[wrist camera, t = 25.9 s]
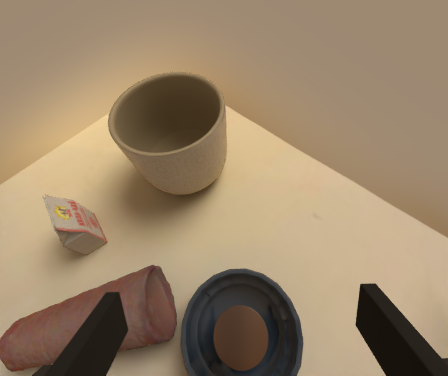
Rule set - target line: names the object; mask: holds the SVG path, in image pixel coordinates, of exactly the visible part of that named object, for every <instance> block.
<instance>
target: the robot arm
mask: <svg viewBox="0 0 448 376" xmlns="http://www.w3.org/2000/svg"><path fill="white" fill-rule="evenodd" d="M356 327H357V328H358V330H359V332H360V333H361V335H362V337H363V338H364V340H365V341H366V343H367V345H368V346H369V348H370V350H371V351H372V353H373V355H374V356H375V358H376V360H377V361H378V363H379V365H380V366H381V368H382V370H383V371H384V373H385V375H386V376H448V358H445V359H442V358H441V357H440V356H439V355H438V354H437V353H436V351H435V350H434V349H433V348H432V347H431V346H430V345H429V344H428V342H427V341H426V340H425V339H424V338H423V337H422V336H421V335H420V333H419V332H418V331H417V330H416V329H415V328H414V327H413V325H412V324H411V323H410V322H409V321H408V320H407V319H406V318H405V316H404V315H403V314H402V313H401V312H400V311H399V310H398V308H397V307H396V306H395V305H394V304H393V303H392V302H391V301H390V299H389V298H388V297H387V296H386V295H385V294H384V293H383V292H382V290H381V289H380V288H379V287H378V286H377V285H376V284H360V292H359V300H358V309H357V317H356ZM127 332H128V326H127V322H126V318H125V313H124V309H123V305H122V301H121V297H120V293H119V292H106V293H105V294H104V296H103V297H102V298H101V300H100V301H99V302H98V304H97V305H96V307H95V308H94V309H93V311H92V312H91V313H90V315H89V316H88V317H87V319H86V320H85V321H84V323H83V324H82V325H81V327H80V328H79V329H78V331H77V332H76V333H75V335H74V336H73V337H72V339H71V340H70V342H69V343H68V344H67V346H66V347H65V348H64V350H63V351H62V352H61V354H60V355H59V356H58V358H57V359H56V360H55V362H54V363H53V364H52V365H43V366H42V367H41V368H40V369H39V370H38V371H36V372H35V373H34V374H33V375H32V376H106V374H107V372H108V370H109V368H110V366H111V364H112V362H113V360H114V358H115V356H116V354H117V352H118V350H119V348H120V346H121V344H122V342H123V340H124V338H125V336H126V334H127Z"/></svg>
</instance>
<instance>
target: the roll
mask: <svg viewBox="0 0 448 376" xmlns="http://www.w3.org/2000/svg"><path fill="white" fill-rule="evenodd" d="M213 339H214V346H215V349H216V352H217V354H218V356H219V358H220V359H221V360H222V361H223V362H224V364H226V365H227V366H228V367H230V368H232V369H234V370H238V371H246V370H250V369H252V368H254V367H255V366H257V365H258V364H259V363H260V362H261V361H262V359H263V358H264V356H265V354H266V351H267V347H268V331H267V327H266V325H265V322H264V321H263V319H262V317H261V316H260V315H259V314H258V313H257V312H256V311H255V310H253V309H252V308H250V307H247V306H243V305H236V306H232V307H230V308H228V309H226V310H225V311H224V312H223V313H222V314H221V315H220V316H219V318H218V320H217V322H216V324H215V327H214V334H213Z"/></svg>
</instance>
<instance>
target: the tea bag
mask: <svg viewBox="0 0 448 376" xmlns="http://www.w3.org/2000/svg"><path fill="white" fill-rule="evenodd" d="M43 199H44V202H45V205H46V208H47V211H48V213H49V216H50V219H51V222H52V225H53V228H54V231H55V232H56V233H57V234H58V235H59V237H60V239H61V242H62V244H63V247H66V248H69V249H72V250H74V251H77V252H80V253H83V254H86V255H88V254H90V253H92V252H93V251H95V250H96V249H98V248H99V247H101V246H102V245H104V244H105V243H107V240H106V238H105V236H104V234H103V232H102V229H101V227H100V225H99V223H98V221H97V219H96V216H95V214H94V213H92V212H91V211H89V210H88V209H86V208H85V207H83V206H82V205H80V204H79V203H77V202H76V201H74V200H69V199H63V198H56V197H52V196H48V195H45V198H44V197H43Z"/></svg>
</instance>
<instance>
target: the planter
mask: <svg viewBox="0 0 448 376" xmlns="http://www.w3.org/2000/svg"><path fill="white" fill-rule="evenodd" d="M108 127H109V132H110V134H111V136H112V138H113V140H114V141H115V143H116V144H117V145H118V147H119V148H120V149H121V150H122V152H123V153H124V154H125V155H126V156H127V158H128V159H129V160H130V161H131V163H132V164H133V165H134V166H135V168H136V169H137V170H138V171H139V172H140V173H141V175H142V176H143V177H144V178H145V179H146V180H147V181H148V182H150V183H151V184H152V185H153V186H155V187H156V188H158V189H160V190H162V191H164V192H167V193H171V194H179V195H183V194H191V193H194V192H197V191H200V190H202V189H204V188H206V187H207V186H209V185H210V184H211V183H212V182H213V181H214V180H215V179H216V178H217V177H218V176H219V174H220V173H221V171H222V169H223V167H224V164H225V160H226V154H227V129H226V110H225V101H224V97H223V95H222V93H221V91H220V89H219V88H218V87H217V86H216V85H215V84H214V83H213V82H211V81H210V80H208V79H207V78H205V77H202V76H199V75H197V74H192V73H186V72H171V73H163V74H158V75H155V76H151V77H149V78H146V79H144V80H142V81H140V82H138V83H136V84H134V85H133V86H131V87H130V88H128V89H127V90H126V91H125V92H124V93H123V94H122V95H121V96H120V97H119V98H118V99H117V100H116V102H115V103H114V105H113V107H112V109H111V111H110V114H109V119H108Z"/></svg>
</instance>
